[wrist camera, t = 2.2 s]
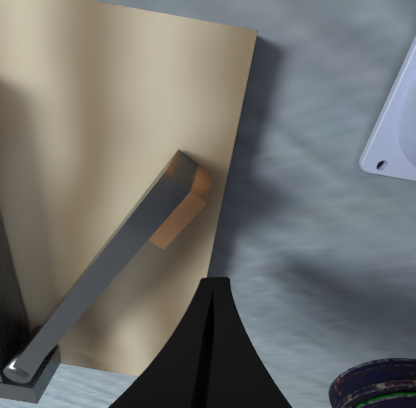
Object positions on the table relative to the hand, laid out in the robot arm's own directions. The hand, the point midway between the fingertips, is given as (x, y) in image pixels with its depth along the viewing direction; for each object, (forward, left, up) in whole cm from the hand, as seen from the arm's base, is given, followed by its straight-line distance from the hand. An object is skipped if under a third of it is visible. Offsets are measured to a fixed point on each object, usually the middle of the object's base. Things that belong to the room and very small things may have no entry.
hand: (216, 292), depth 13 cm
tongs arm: (+7, +3, -3) cm, 8 cm away
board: (+8, +1, -4) cm, 9 cm away
